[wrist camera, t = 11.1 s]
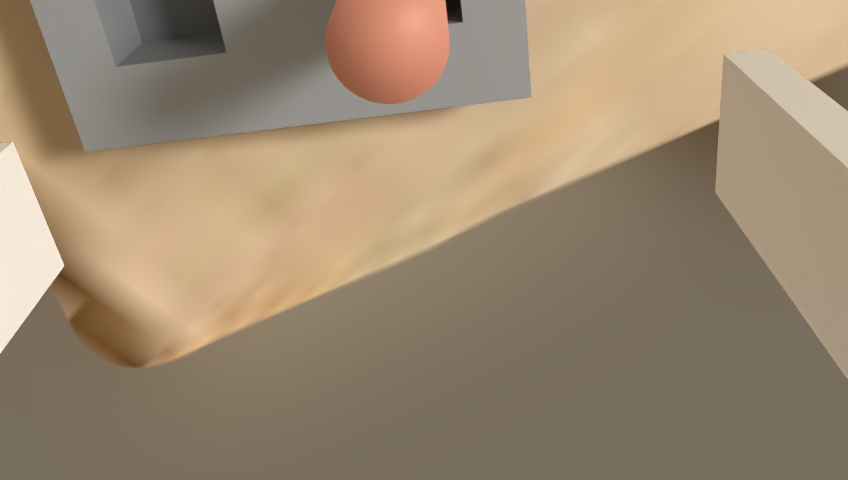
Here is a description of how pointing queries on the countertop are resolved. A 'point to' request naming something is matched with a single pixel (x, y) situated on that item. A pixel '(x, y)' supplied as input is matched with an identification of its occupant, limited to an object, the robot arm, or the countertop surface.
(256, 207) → the countertop surface
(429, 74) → the dowel
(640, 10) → the countertop surface
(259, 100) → the bore block
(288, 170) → the countertop surface
